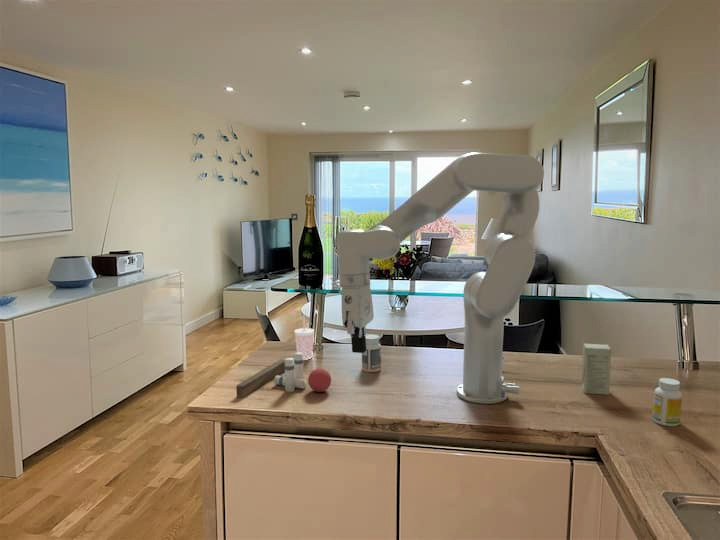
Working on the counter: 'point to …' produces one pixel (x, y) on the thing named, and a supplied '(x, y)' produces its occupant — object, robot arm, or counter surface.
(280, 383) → the pin front
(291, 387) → the pin rear left
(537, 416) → the counter surface
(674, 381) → the supplement bottle
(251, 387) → the back rail
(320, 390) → the ball
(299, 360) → the pin rear right
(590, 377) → the skincare box
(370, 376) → the counter surface
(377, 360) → the pill bottle
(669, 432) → the counter surface
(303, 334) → the beverage cup
